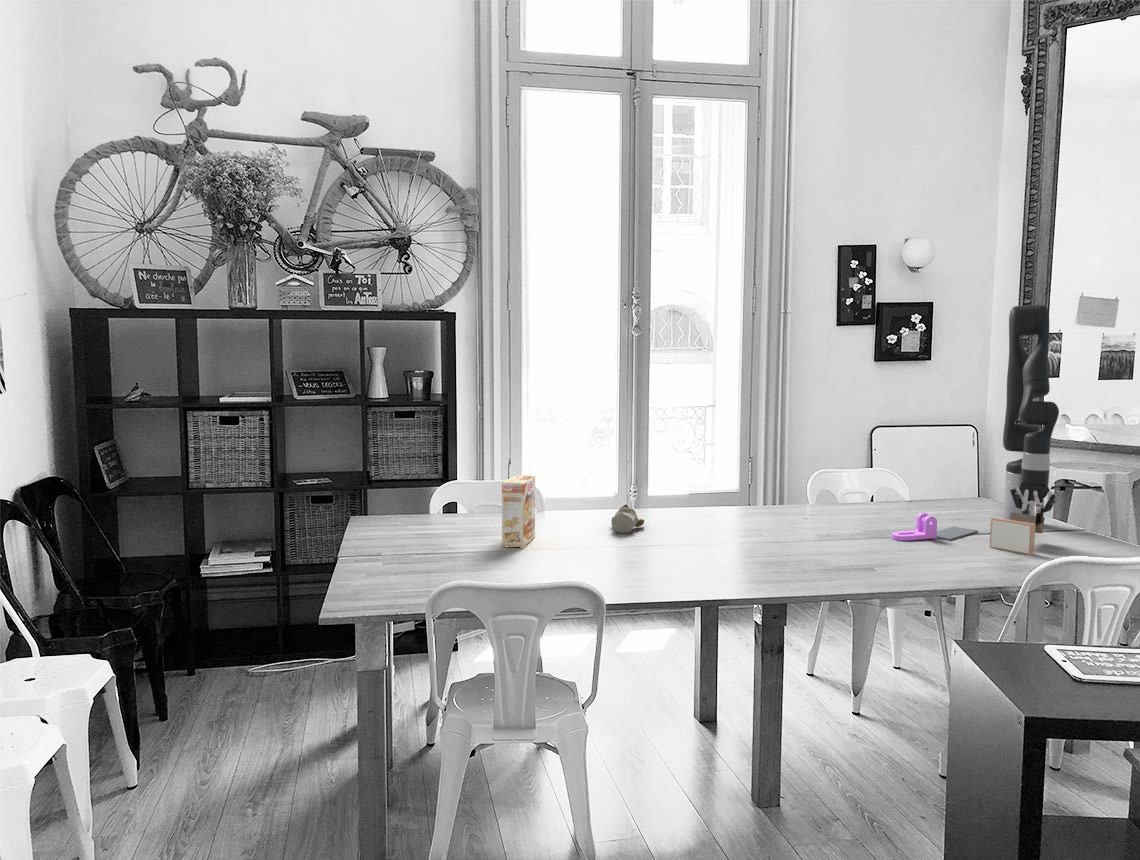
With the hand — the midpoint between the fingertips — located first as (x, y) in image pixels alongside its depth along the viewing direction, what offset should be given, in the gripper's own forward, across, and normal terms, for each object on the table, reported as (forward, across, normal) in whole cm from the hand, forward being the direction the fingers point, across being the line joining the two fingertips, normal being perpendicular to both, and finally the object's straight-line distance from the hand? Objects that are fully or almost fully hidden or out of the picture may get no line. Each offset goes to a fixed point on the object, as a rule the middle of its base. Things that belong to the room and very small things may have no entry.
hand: (1032, 523), depth 284 cm
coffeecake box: (+7, +101, +118) cm, 155 cm away
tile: (+6, 0, +13) cm, 14 cm away
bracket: (+6, +27, +21) cm, 35 cm away
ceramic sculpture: (+7, +93, +81) cm, 123 cm away
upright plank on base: (+2, 0, +2) cm, 3 cm away
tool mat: (+6, +22, +6) cm, 24 cm away
